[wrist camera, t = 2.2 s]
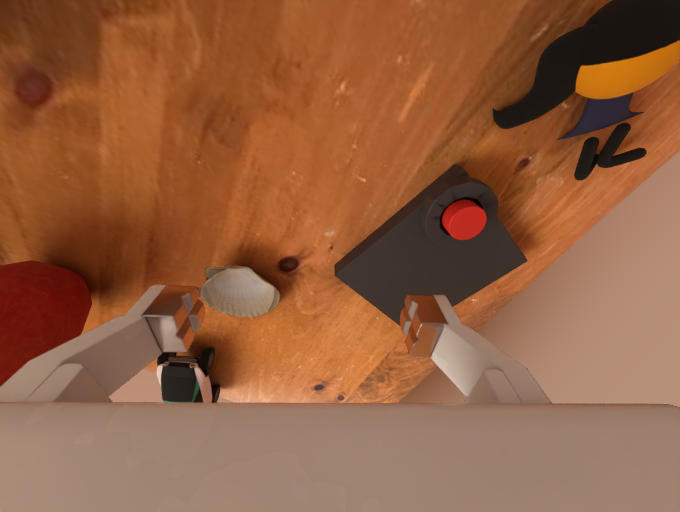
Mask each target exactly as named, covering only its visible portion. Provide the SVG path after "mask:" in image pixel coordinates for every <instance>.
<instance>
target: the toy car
mask: <svg viewBox="0 0 680 512" xmlns="http://www.w3.org/2000/svg"><path fill="white" fill-rule="evenodd" d="M176 354H177V352H162V354H161V355H160V356H158V360H157V364H158V369H157V377H158V380H159V382H160V385H161V389H162V399H163V402H167V403H217V400H218V397H219V393H220V386H219V385H212V386H211V383H210V378H209V376H208V375H209V372H208V373H207V371H209V370H210V369H211V367H212V364H213V361H214V356H215V352H214V349H211V348H206V349H204V351H203V352H202V354H201V356H200V357H196V358H195V357H189V356H177V355H176ZM176 357H177V358H176ZM197 358H200V359H198V360H197ZM198 362H199V364H198Z"/></svg>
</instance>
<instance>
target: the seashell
mask: <svg viewBox="0 0 680 512" xmlns="http://www.w3.org/2000/svg"><path fill="white" fill-rule="evenodd" d="M206 275H207V277H208V278H207V279H206V282H205V283H204V284H203V286H202V287H201V289H200V293H201V298H202V299H203V301H205V303H206V304H207V305H209V307H212V308H213V309H214V310H218V311H219V312H223V313H224V314H229V315H231V316H236V317H253V316H259V315H264V314H265V313H267V312H270V311H271V310H273V309H274V308H275V307H276V306H277V304H278V302H279V300H280V295H279V291H278V290H277V289H276V287H274V286H273V285H272V284H271V283H269V282H268V281H267V280H266V279H264V278H263V277H261V276H259V275H257V274H256V273H255V272H254V271H253V270H251V269H250V268H248V267H246V266H239V265H235V264H230V265H226V266H224V267H223V268H206Z"/></svg>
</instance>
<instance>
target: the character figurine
mask: <svg viewBox="0 0 680 512" xmlns="http://www.w3.org/2000/svg"><path fill="white" fill-rule="evenodd" d="M679 61H680V0H612V1H610V2H609V3H608V4H606V5H605V6H604V7H602V8H601V9H600V10H599V11H598V12H596V13H595V14H594V15H593V16H592V17H591V18H590V19H589V20H588V21H587V22H586V24H585V25H584V26H583V27H580V28H577V29H575V30H573V31H571V32H569V33H567V34H565V35H563V36H561V37H559V38H558V39H556V40H555V41H554V42H552V43H551V44H550V45H549V46H548V47H547V48H546V49H545V50H544V52H543V54H542V55H541V58H540V60H539V63H538V67H537V72H536V76H535V82H534V85H533V87H532V89H531V91H530V92H529V93H528V94H527V95H526V96H525V97H524V98H523V99H522V100H521V101H519V102H518V103H516V104H515V105H513V106H511V107H509V108H507V109H504V110H502V111H496V110H494V109H493V117H494V121H495V122H496V124H497V125H498V126H499V127H501V128H503V129H509V128H513V127H516V126H519V125H521V124H524V123H527V122H529V121H532V120H534V119H536V118H539V117H540V116H542V115H544V114H545V113H547V112H549V111H550V110H552V109H553V108H555V107H556V106H557V105H559V104H560V103H562V102H563V101H564V100H565V99H567V98H568V97H569V96H570V95H571V94H573V93H574V92H576V93H578V94H580V95H582V96H584V97H587V98H588V101H587V103H586V106H585V108H584V111H583V113H582V116H581V118H580V121H579V123H578V125H577V126H576V127H575V128H574V130H572V131H571V132H569V133H568V134H566V135H564V136H563V137H561V138H559V139H558V140H560V139H565V138H569V137H573V136H577V135H581V134H585V133H589V132H592V131H596V130H600V129H603V128H606V127H609V126H611V125H614V124H616V123H619V122H621V121H624V120H626V119H629V118H631V117H634V116H636V115H639V114H641V113H644V112H631V111H630V110H629V104H630V101H631V98H632V95H633V93H634V92H635V91H637V90H639V89H641V88H643V87H645V86H647V85H649V84H651V83H652V82H654V81H656V80H657V79H658V78H660V77H661V76H663V75H664V74H665V73H667V72H668V71H669V70H670V69H671V68H672V67H674V66H675V65H676V64H677V63H678V62H679ZM630 129H631V126H630V125H629V124H628V123H622V124H619V125H618V126H617V127H615V129H614V131H613V132H612V134H611V135H610V137H609V139H608V140H607V142H606V144H605V145H604V147H603V149H602V150H601V152H600V154H599V155H598V154H596V150H597V147H598V144H599V139H598V138H596V137H591V138H588V139H587V140H586V141H585V142H584V145H583V148H582V151H581V154H580V158H579V161H578V164H577V167H576V170H575V174H574V177H575V179H576V180H584V179H586V178H587V177H588V176H589V174H590V173H591V171H592V170H593V168H594V167H595V165H596V164H598V166H599V167H603V168H608V167H613V166H617V165H621V164H624V163H627V162H631V161H634V160H637V159H640V158H642V157H644V156H645V155H646V150H645V149H644V148H637V149H634V150H631V151H628V152H625V153H621V154H618V155H615V156H613V155H614V153H615V152H616V150H617V149H618V147H619V146H620V144H621V143H622V141H623V140H624V138H625V137H626V135H627V134H628V132H629V131H630Z"/></svg>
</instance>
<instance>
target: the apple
mask: <svg viewBox="0 0 680 512" xmlns="http://www.w3.org/2000/svg"><path fill="white" fill-rule="evenodd" d="M91 305H92V301H91V294H90V292H89V289H88V287H87V284H86V282H85V281H84V279H83V277H81V276H80V275H79V274H78V273H76V272H75V271H72V270H70V269H67V268H64V267H59V266H54V265H50V264H45V263H40V262H36V261H25V262H19V263H13V264H7V265H2V266H0V387H1V386H2V385H3V384H4V383H5V382H6V381H7V380H8V379H9V378H11V377H12V376H13V375H14V374H15V373H16V372H17V371H18V370H19V369H21V368H22V367H23V366H24V365H25V364H26V363H27V362H28V361H30V360H32V359H34V358H36V357H38V356H40V355H42V354H44V353H46V352H48V351H50V350H52V349H54V348H56V347H58V346H60V345H62V344H64V343H66V342H68V341H70V340H72V339H74V338H76V337H78V336H80V334H81V333H82V331H83V328H84V325H85V322H86V319H87V317H88V314H89V311H90V308H91Z"/></svg>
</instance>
